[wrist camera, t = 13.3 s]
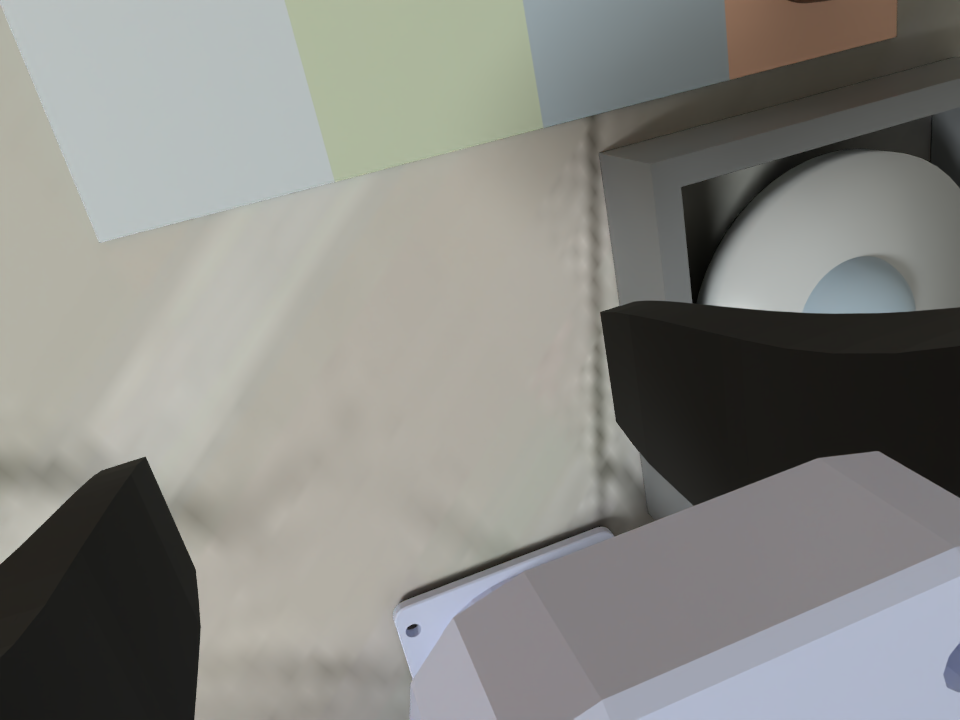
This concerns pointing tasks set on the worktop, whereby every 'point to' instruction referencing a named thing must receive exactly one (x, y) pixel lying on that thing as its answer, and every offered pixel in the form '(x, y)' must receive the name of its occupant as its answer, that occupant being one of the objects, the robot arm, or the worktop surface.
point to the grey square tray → (739, 145)
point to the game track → (366, 82)
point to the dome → (844, 239)
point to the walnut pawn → (807, 1)
